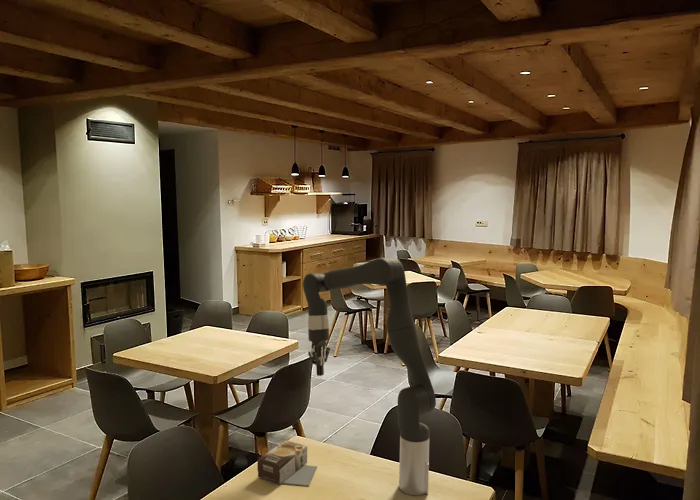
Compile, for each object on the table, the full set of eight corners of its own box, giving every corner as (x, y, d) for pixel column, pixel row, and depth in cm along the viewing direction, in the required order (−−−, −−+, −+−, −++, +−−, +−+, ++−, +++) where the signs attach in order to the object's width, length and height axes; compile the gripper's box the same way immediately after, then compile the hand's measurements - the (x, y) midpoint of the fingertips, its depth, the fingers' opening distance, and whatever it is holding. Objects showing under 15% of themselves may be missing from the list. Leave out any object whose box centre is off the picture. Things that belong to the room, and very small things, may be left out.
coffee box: (307, 445, 180) (280, 466, 166) (307, 463, 180) (280, 485, 166) (285, 439, 184) (257, 459, 170) (285, 456, 185) (257, 477, 171)
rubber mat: (317, 467, 178) (316, 466, 178) (308, 486, 167) (308, 485, 167) (277, 463, 180) (277, 462, 180) (266, 482, 169) (266, 481, 169)
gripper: (318, 325, 199) (319, 372, 198) (300, 329, 187) (302, 378, 186) (335, 325, 196) (337, 372, 194) (318, 329, 184) (320, 379, 182)
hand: (320, 375), depth 190 cm, fingers closed
